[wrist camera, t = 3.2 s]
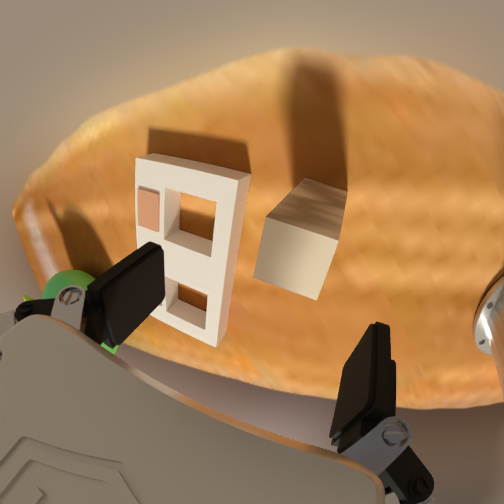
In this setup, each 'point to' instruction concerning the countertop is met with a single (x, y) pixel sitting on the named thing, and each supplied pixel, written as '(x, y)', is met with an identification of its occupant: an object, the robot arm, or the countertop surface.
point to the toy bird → (65, 280)
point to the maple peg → (301, 238)
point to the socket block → (192, 238)
